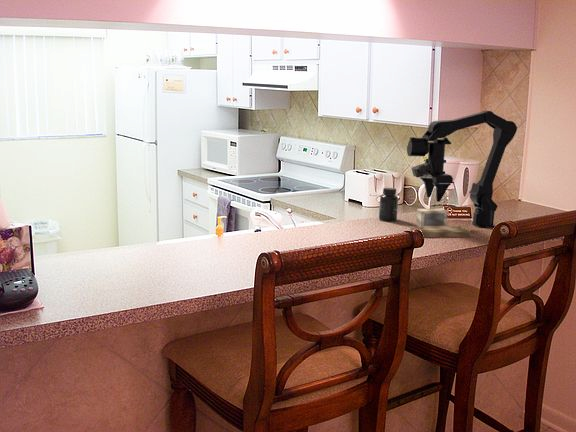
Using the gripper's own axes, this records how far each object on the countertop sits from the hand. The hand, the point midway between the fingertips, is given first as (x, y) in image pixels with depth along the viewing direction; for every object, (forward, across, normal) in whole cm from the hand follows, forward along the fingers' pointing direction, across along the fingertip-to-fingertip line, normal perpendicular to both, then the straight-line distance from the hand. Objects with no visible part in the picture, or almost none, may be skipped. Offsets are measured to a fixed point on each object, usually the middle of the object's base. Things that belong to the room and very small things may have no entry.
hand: (433, 199), depth 247 cm
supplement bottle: (+10, -11, -13) cm, 20 cm away
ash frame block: (+10, 0, 0) cm, 10 cm away
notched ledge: (+10, +13, -2) cm, 16 cm away
